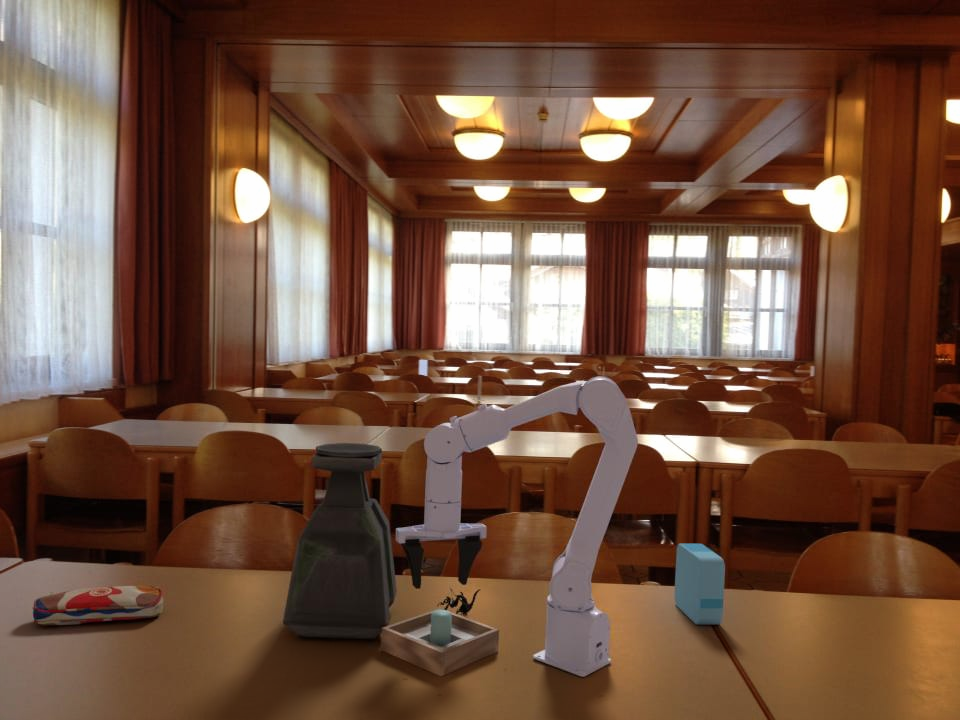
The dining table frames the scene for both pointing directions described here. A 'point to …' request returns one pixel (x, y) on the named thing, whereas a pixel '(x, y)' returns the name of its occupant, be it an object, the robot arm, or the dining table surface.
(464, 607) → the creature
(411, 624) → the box
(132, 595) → the pencil case
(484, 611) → the dining table surface
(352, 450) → the dark faceted flask
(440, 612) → the peg
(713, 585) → the data package
